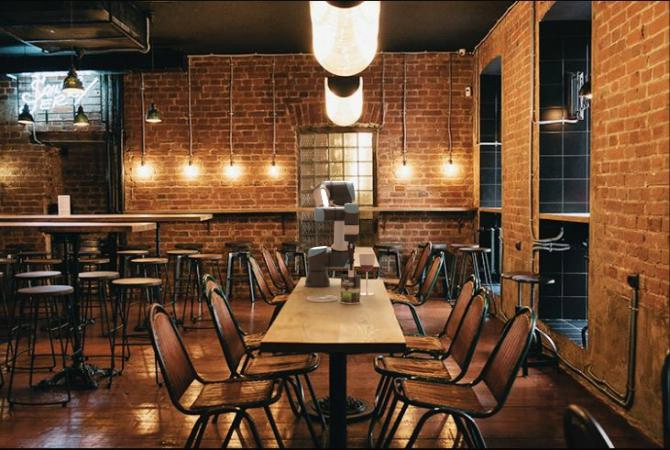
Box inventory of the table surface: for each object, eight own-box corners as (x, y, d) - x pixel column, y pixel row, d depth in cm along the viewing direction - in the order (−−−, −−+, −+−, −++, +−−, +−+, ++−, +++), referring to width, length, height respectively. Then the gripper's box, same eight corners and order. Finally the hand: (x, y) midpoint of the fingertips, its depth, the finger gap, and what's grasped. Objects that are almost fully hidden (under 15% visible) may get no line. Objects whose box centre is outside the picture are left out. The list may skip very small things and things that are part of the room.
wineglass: (374, 292, 337) (375, 253, 336) (374, 295, 327) (374, 255, 326) (359, 292, 338) (359, 253, 337) (358, 295, 328) (358, 255, 327)
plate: (307, 296, 321) (307, 294, 321) (337, 297, 321) (337, 294, 321) (305, 302, 305) (305, 299, 305) (336, 302, 305) (336, 299, 305)
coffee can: (355, 305, 299) (355, 277, 298) (337, 303, 304) (337, 275, 303) (364, 301, 308) (364, 274, 307) (346, 300, 313) (346, 273, 312)
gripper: (344, 232, 317) (343, 272, 317) (343, 234, 292) (343, 278, 292) (358, 232, 316) (358, 272, 317) (359, 235, 291) (358, 278, 292)
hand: (351, 275), depth 305 cm, fingers open, 13 cm apart
